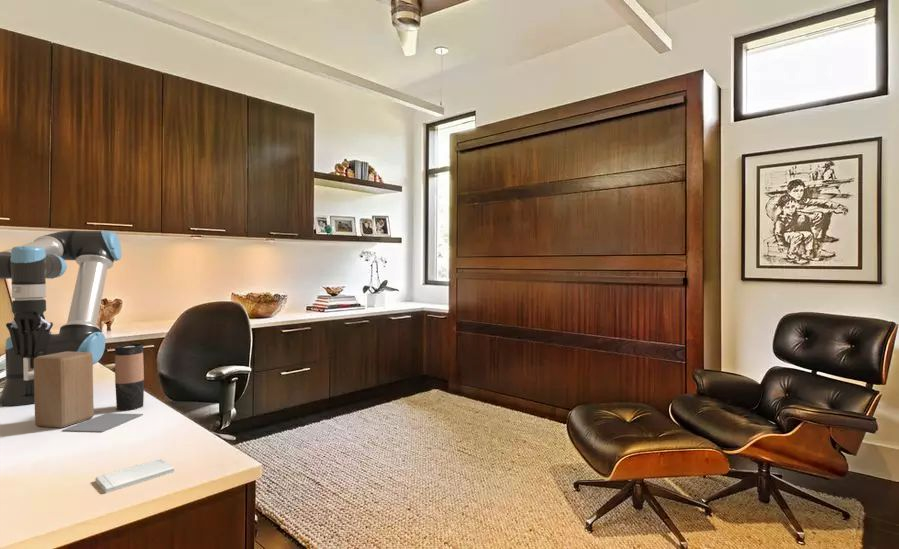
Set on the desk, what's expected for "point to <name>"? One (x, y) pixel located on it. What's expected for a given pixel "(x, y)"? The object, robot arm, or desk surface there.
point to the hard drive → (134, 475)
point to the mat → (103, 422)
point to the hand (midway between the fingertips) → (30, 379)
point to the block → (63, 388)
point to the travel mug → (129, 377)
